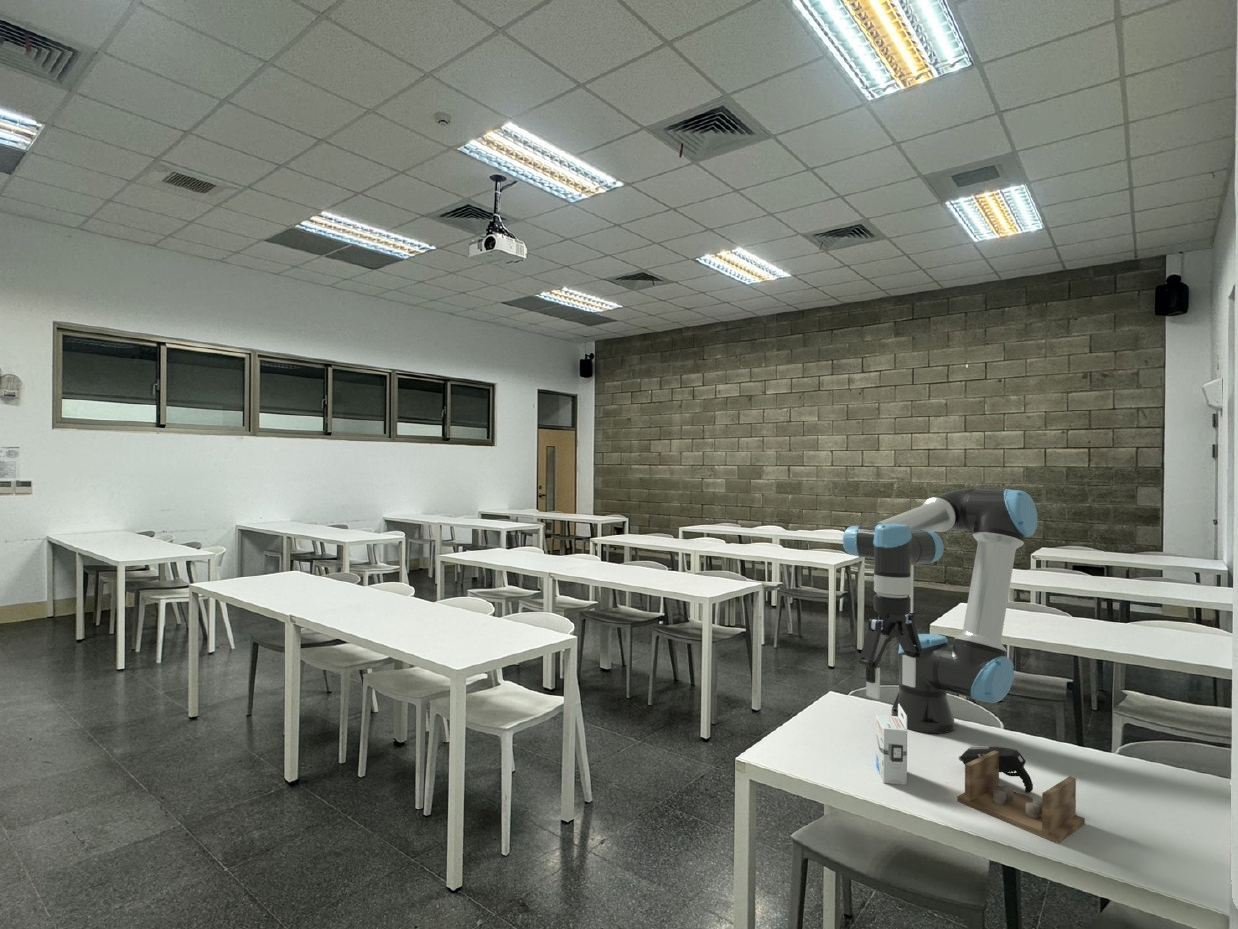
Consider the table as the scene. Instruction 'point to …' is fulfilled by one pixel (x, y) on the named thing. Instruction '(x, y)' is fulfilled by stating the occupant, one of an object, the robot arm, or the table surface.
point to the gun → (1002, 762)
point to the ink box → (892, 748)
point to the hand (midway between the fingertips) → (891, 691)
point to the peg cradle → (1021, 801)
